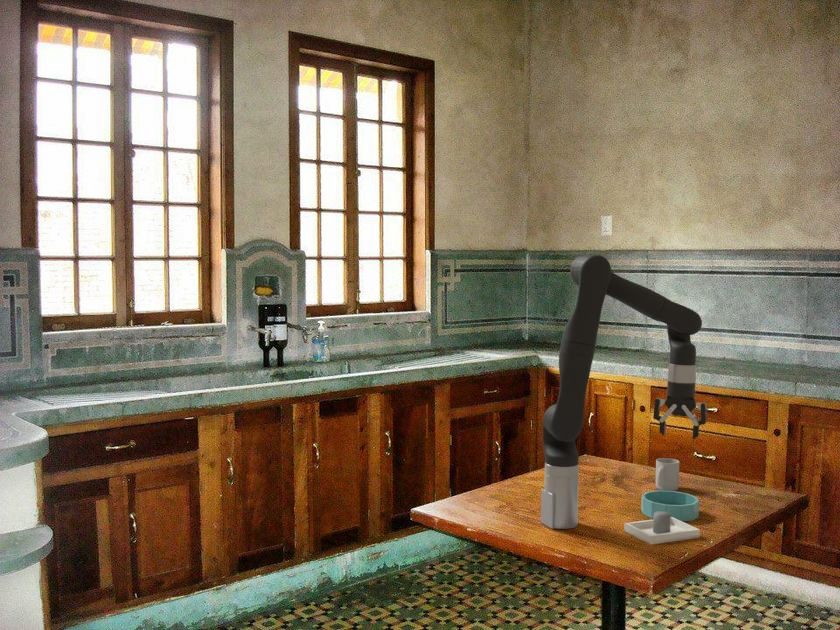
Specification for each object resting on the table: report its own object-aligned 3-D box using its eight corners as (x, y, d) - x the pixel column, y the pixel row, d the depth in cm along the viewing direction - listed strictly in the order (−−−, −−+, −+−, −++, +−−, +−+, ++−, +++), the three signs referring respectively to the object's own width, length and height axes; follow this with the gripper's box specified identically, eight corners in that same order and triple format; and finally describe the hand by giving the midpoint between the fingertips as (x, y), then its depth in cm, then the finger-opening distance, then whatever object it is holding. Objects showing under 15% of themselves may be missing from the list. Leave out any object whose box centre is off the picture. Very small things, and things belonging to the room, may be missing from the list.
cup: (682, 487, 278) (683, 460, 277) (669, 494, 270) (670, 466, 269) (661, 483, 282) (661, 457, 282) (647, 490, 275) (648, 462, 274)
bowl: (664, 523, 240) (664, 508, 240) (631, 508, 255) (631, 493, 254) (709, 518, 246) (710, 502, 246) (674, 503, 260) (675, 488, 260)
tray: (650, 544, 223) (650, 536, 223) (624, 531, 234) (624, 523, 234) (699, 537, 229) (699, 529, 229) (671, 524, 240) (672, 517, 239)
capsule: (659, 535, 228) (660, 517, 228) (649, 530, 233) (650, 512, 232) (673, 533, 230) (674, 515, 230) (663, 528, 234) (663, 510, 234)
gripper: (653, 379, 243) (650, 436, 244) (706, 383, 236) (703, 442, 237) (658, 376, 249) (655, 431, 250) (709, 380, 243) (707, 437, 244)
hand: (678, 436), depth 244 cm, fingers open, 8 cm apart
